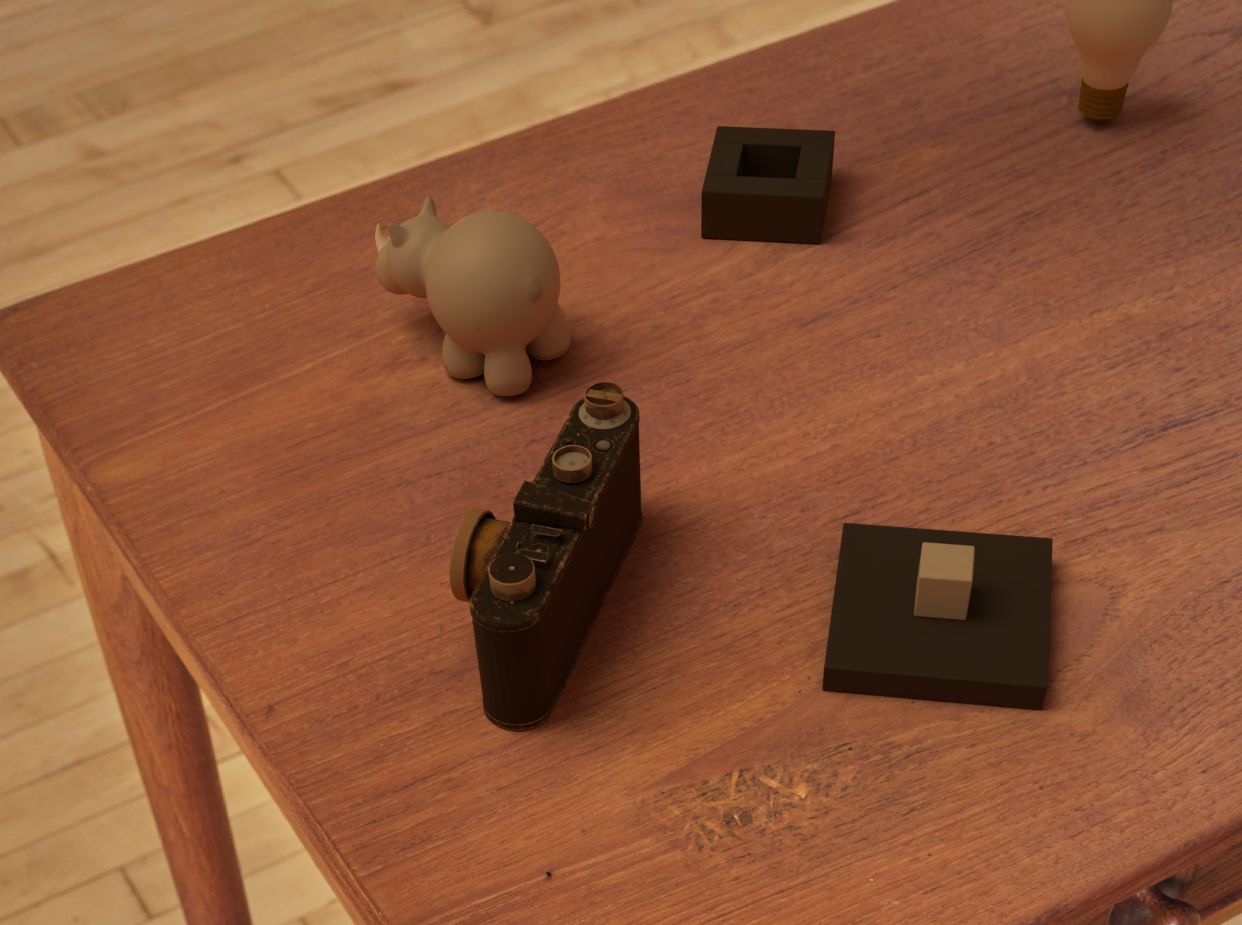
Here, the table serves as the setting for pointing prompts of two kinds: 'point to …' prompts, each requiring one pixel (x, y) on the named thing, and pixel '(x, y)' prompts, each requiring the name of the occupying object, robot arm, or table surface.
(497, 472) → the table surface
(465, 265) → the chubby cartoon animal
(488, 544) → the camera
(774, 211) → the black square ring block
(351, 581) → the table surface
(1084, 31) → the light bulb
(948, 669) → the base pad
